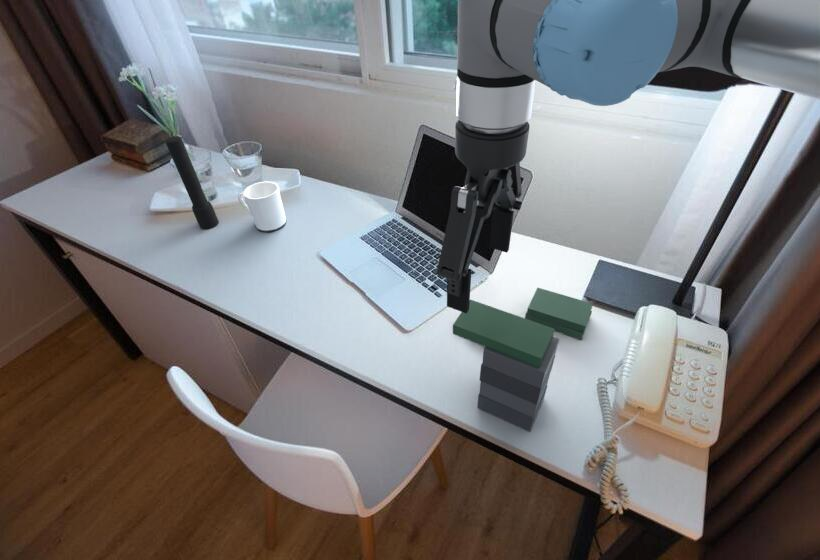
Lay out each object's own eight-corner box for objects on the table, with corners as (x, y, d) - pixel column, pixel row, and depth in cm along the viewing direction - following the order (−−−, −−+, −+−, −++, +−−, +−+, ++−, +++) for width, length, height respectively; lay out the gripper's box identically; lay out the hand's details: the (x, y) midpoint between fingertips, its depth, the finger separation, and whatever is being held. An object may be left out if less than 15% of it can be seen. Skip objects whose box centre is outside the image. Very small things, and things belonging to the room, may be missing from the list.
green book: (539, 368, 58) (541, 358, 57) (452, 333, 64) (452, 324, 62) (552, 338, 62) (554, 328, 61) (469, 308, 67) (470, 299, 66)
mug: (291, 214, 119) (282, 180, 113) (284, 232, 113) (274, 198, 106) (252, 216, 120) (240, 182, 113) (243, 234, 113) (230, 200, 106)
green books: (581, 340, 81) (585, 327, 78) (524, 320, 85) (526, 307, 83) (590, 316, 85) (594, 303, 83) (535, 299, 90) (538, 286, 87)
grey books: (530, 432, 68) (545, 373, 58) (476, 407, 71) (482, 348, 61) (543, 398, 72) (560, 338, 62) (493, 377, 76) (500, 317, 66)
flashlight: (201, 231, 115) (220, 225, 117) (162, 145, 99) (185, 139, 101) (198, 222, 118) (216, 217, 120) (160, 137, 102) (182, 132, 104)
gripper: (503, 78, 53) (489, 222, 67) (397, 163, 38) (408, 327, 52) (564, 86, 50) (537, 234, 64) (476, 182, 35) (466, 350, 49)
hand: (479, 276), depth 58 cm, fingers open, 13 cm apart
